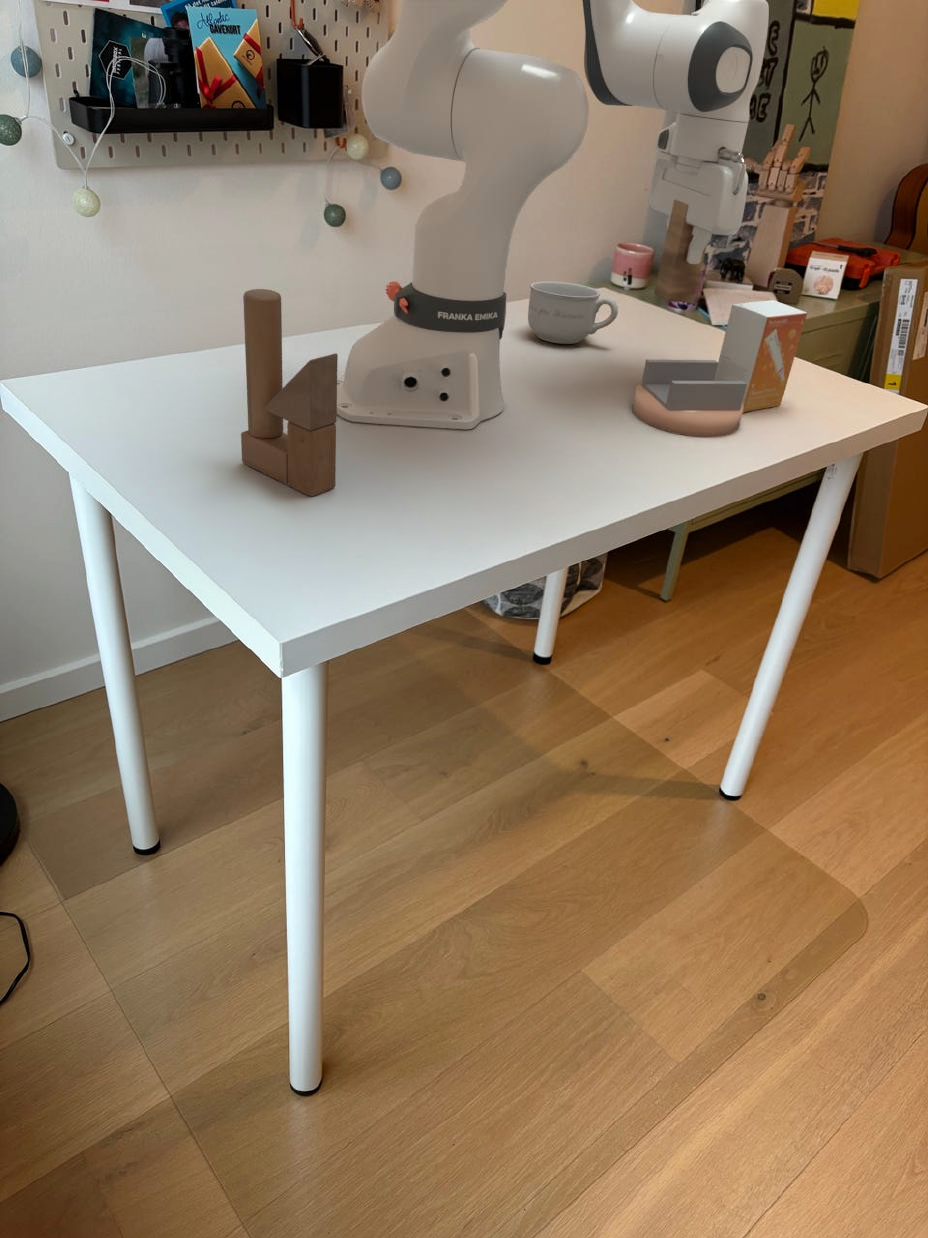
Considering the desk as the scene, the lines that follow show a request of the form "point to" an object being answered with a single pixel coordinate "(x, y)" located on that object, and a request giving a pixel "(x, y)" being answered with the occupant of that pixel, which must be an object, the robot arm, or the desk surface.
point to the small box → (760, 350)
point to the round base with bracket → (688, 398)
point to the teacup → (566, 311)
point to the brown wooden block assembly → (287, 404)
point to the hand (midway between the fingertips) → (682, 258)
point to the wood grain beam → (678, 260)
